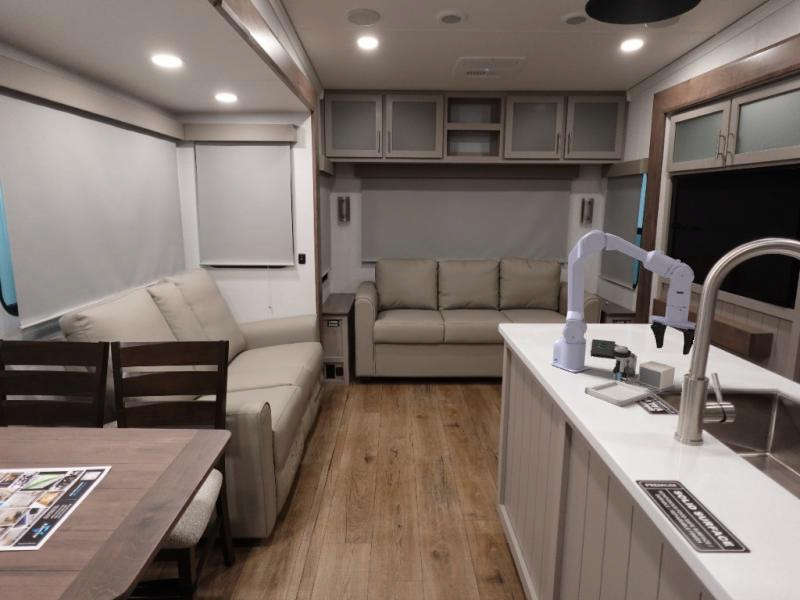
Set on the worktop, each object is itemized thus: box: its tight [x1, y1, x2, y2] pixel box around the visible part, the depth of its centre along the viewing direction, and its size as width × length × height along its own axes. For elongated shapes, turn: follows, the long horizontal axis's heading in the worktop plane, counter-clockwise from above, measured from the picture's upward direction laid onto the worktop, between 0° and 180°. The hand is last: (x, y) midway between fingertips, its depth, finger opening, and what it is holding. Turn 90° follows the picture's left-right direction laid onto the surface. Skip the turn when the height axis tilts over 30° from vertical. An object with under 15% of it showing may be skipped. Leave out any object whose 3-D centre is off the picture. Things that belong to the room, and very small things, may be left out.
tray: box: [584, 379, 651, 407], centre depth 135 cm, size 11×13×2 cm
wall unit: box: [634, 360, 676, 393], centre depth 142 cm, size 8×7×6 cm
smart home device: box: [590, 338, 616, 360], centre depth 178 cm, size 8×2×20 cm
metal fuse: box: [624, 352, 638, 378], centre depth 152 cm, size 4×4×7 cm
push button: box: [611, 345, 632, 384], centre depth 146 cm, size 7×5×10 cm
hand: (672, 350), depth 144 cm, fingers open, 7 cm apart
